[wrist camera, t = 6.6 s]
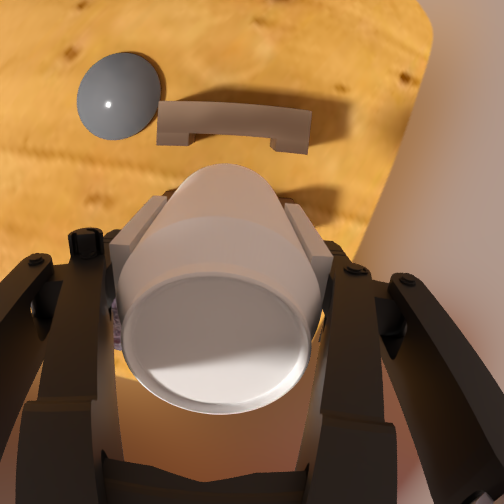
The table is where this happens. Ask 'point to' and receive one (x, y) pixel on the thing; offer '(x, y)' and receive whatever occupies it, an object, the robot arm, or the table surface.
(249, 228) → the beverage can
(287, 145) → the notched wooden bars
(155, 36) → the table surface
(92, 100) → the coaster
